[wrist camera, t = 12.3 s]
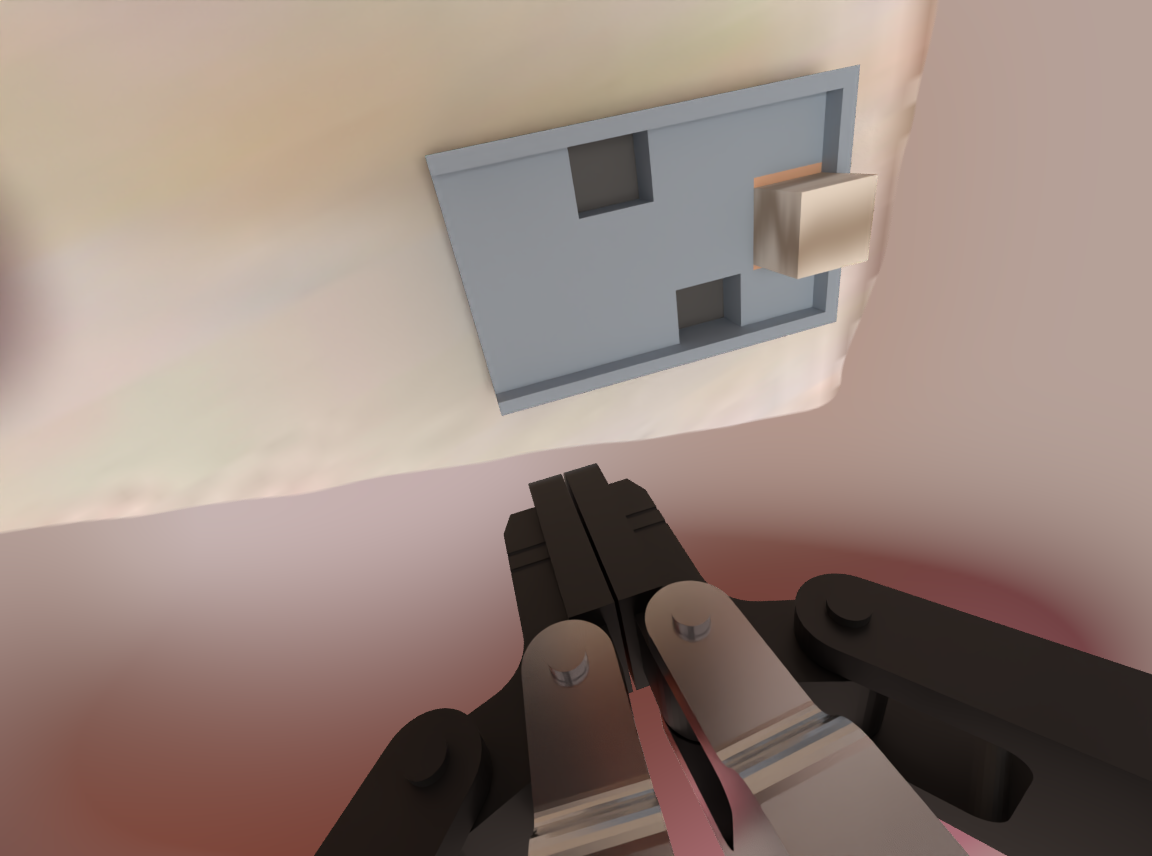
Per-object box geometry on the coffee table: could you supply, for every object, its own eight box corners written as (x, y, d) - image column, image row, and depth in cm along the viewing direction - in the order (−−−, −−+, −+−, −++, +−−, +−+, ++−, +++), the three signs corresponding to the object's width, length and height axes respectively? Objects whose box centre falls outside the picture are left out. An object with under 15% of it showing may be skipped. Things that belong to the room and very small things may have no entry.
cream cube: (753, 188, 33) (801, 192, 29) (821, 172, 34) (877, 174, 29) (753, 264, 35) (797, 279, 31) (816, 248, 36) (867, 260, 32)
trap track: (425, 155, 30) (425, 155, 26) (810, 75, 33) (860, 64, 30) (494, 389, 38) (501, 415, 34) (798, 306, 41) (836, 321, 38)
